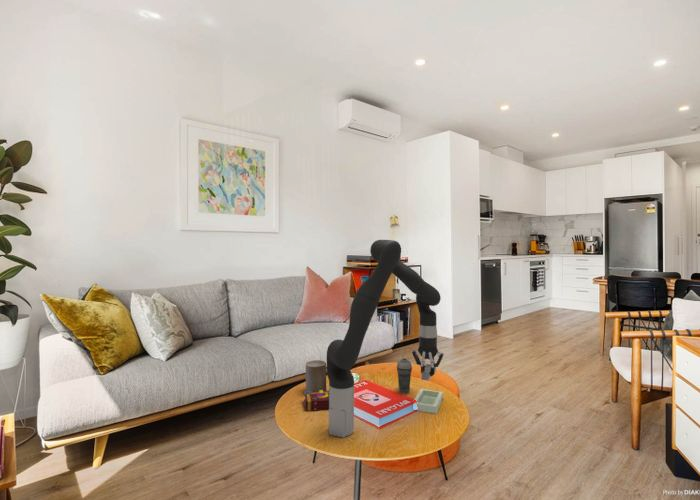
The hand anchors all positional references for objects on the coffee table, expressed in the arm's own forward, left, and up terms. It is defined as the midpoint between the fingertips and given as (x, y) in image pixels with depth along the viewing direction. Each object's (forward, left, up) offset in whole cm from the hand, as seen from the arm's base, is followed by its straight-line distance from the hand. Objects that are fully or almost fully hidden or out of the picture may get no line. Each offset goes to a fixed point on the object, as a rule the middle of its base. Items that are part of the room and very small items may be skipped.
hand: (427, 375), depth 167 cm
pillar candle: (-5, +51, -13) cm, 53 cm away
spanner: (+1, 0, 0) cm, 1 cm away
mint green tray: (+1, 0, -13) cm, 13 cm away
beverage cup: (+11, +13, -13) cm, 21 cm away
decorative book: (-17, +42, -14) cm, 48 cm away
